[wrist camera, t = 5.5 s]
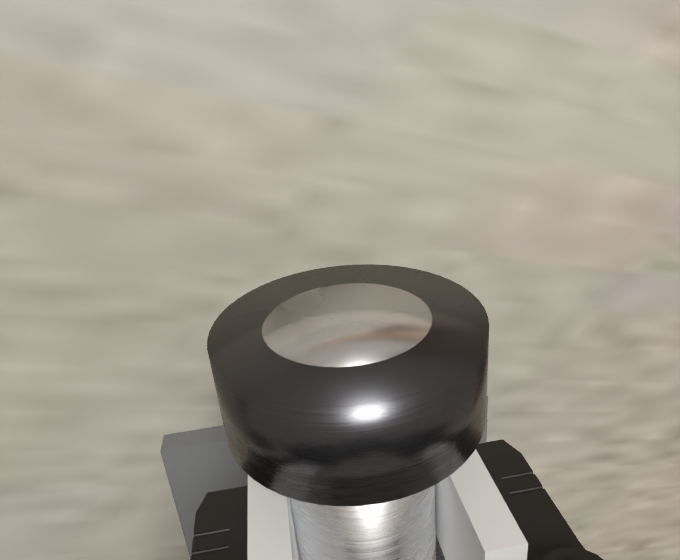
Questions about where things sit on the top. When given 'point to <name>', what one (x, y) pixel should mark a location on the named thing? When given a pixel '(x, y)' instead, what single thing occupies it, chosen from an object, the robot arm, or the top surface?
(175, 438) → the mat
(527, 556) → the robot arm
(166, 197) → the top surface
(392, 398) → the shaft
